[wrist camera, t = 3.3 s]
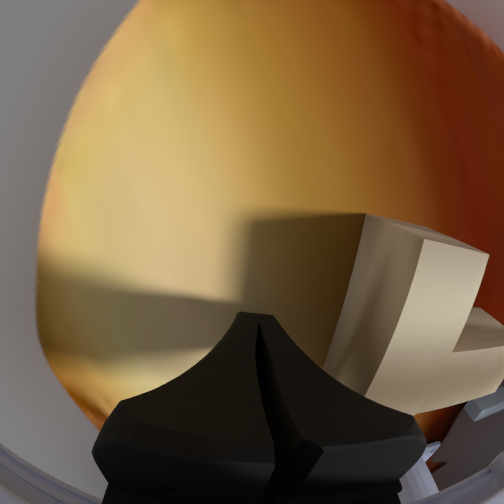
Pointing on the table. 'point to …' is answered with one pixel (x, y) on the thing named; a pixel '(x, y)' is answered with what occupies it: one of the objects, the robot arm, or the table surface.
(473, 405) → the bracket
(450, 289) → the t block
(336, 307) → the table surface
